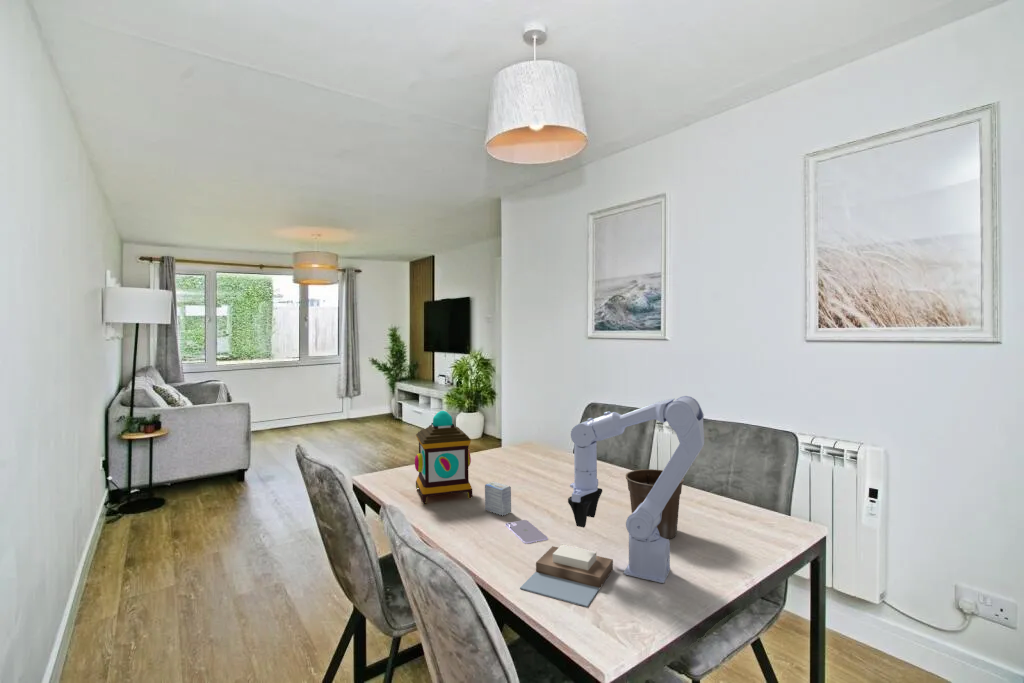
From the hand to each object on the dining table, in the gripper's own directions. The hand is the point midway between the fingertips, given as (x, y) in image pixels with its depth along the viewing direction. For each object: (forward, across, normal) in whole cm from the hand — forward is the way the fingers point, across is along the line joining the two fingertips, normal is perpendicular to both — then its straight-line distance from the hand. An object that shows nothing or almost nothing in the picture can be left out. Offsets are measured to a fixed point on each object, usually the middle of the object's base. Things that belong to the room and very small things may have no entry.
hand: (585, 521), depth 127 cm
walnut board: (+9, +8, 0) cm, 12 cm away
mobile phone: (+10, -8, -21) cm, 24 cm away
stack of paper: (+10, -18, -36) cm, 41 cm away
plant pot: (+10, -24, +12) cm, 29 cm away
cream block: (+7, +8, 0) cm, 11 cm away
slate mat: (+9, +17, 0) cm, 20 cm away
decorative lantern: (+10, -24, -62) cm, 67 cm away
